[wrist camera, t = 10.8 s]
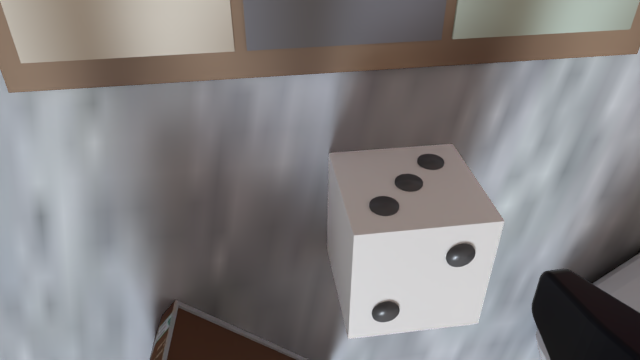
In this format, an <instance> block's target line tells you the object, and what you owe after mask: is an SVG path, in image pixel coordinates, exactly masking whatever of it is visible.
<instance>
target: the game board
mask: <svg viewBox="0 0 640 360" xmlns="http://www.w3.org/2000/svg"><path fill="white" fill-rule="evenodd" d="M639 47H640V0H0V69H1V72H2V75H3V78H4V80H5V83H6V86H7V89H8V92H9V93H12V92H28V91H44V90H61V89H77V88H93V87H109V86H125V85H141V84H158V83H174V82H190V81H206V80H222V79H238V78H255V77H271V76H287V75H303V74H319V73H335V72H352V71H368V70H384V69H400V68H416V67H432V66H449V65H465V64H481V63H497V62H513V61H529V60H546V59H562V58H578V57H594V56H610V55H626V54H637V53H638V50H639Z"/></svg>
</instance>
